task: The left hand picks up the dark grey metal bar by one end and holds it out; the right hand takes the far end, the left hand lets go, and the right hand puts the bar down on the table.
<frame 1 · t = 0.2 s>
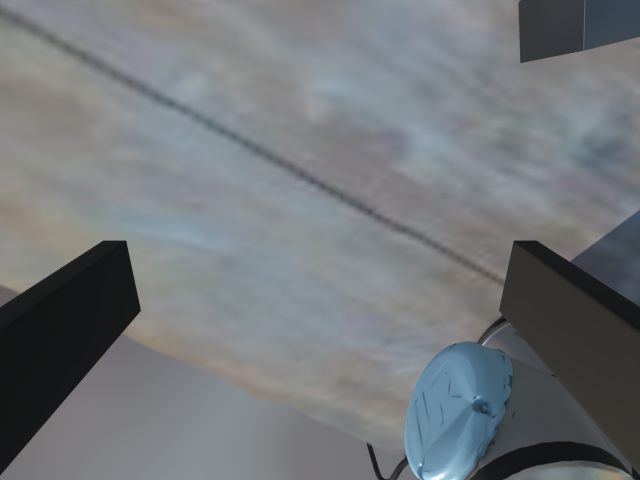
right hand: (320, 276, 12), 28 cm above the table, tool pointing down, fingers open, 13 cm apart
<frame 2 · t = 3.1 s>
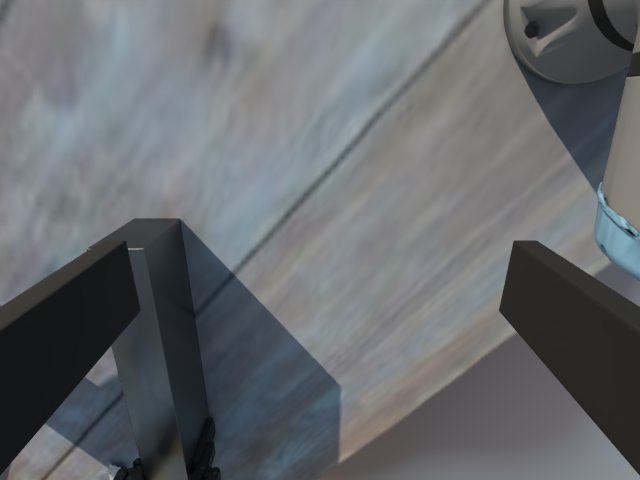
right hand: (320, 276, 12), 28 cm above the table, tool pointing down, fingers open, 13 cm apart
bar: (179, 346, 47), on the table, touching left hand
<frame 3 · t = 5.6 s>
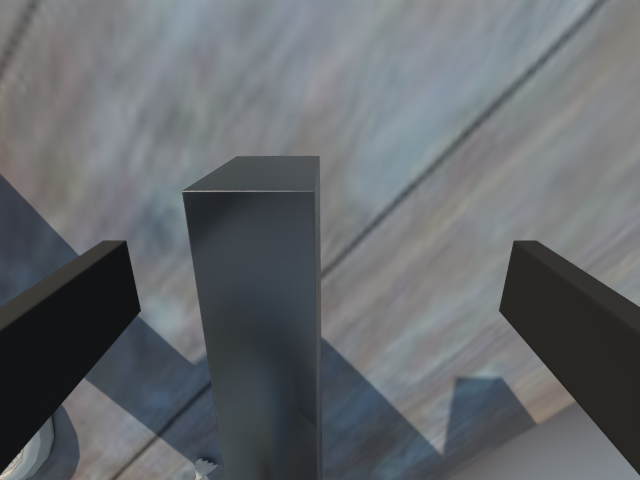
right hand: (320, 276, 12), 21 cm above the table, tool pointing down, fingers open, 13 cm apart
bar: (289, 379, 29), point 10 cm above the table, touching left hand
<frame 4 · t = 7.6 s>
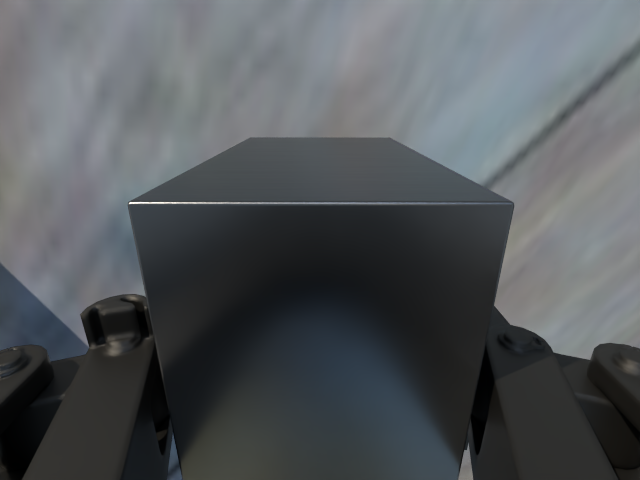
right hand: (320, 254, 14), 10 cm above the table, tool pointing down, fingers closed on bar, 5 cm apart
bar: (319, 473, 20), point 10 cm above the table, touching right hand, left hand
when the left hand's fingers open (10 cm above the table, at t = 8.2 s): bar stays where it is, held by the right hand.
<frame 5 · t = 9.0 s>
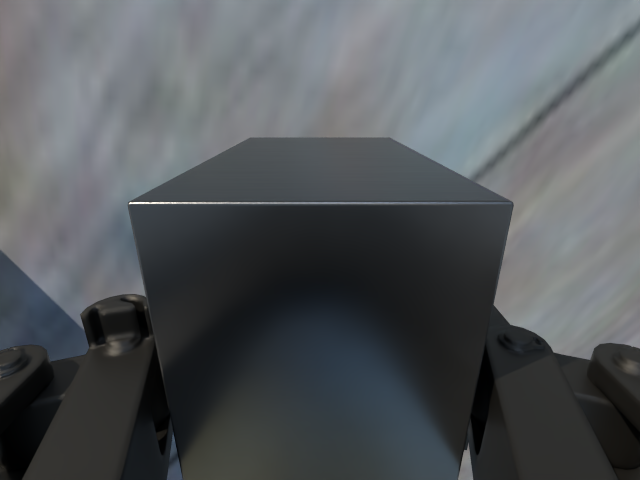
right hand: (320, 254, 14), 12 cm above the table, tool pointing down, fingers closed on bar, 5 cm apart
bar: (319, 473, 20), point 11 cm above the table, touching right hand
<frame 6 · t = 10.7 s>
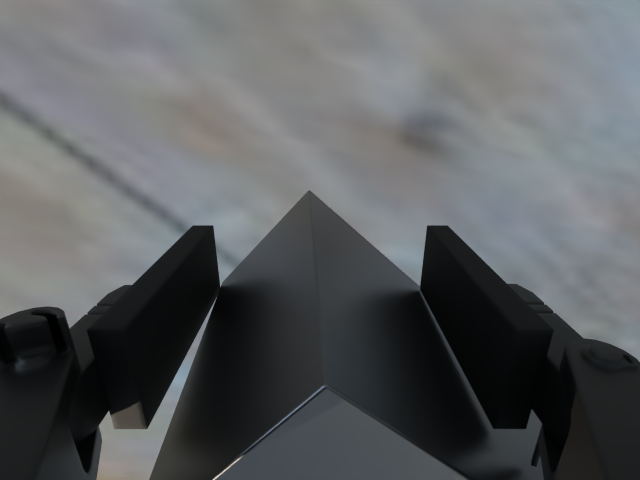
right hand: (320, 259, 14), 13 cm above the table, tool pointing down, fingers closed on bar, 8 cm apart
bar: (520, 436, 19), point 12 cm above the table, touching right hand
when the right hand's fingers open (13 cm above the table, at t = 10.7 s): bar drops 12 cm, on the table.
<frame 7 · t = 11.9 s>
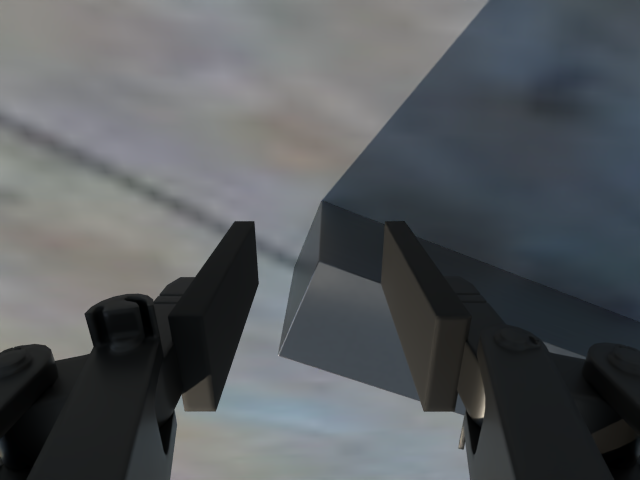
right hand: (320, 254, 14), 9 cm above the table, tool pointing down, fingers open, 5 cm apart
bar: (535, 319, 26), on the table, touching right hand
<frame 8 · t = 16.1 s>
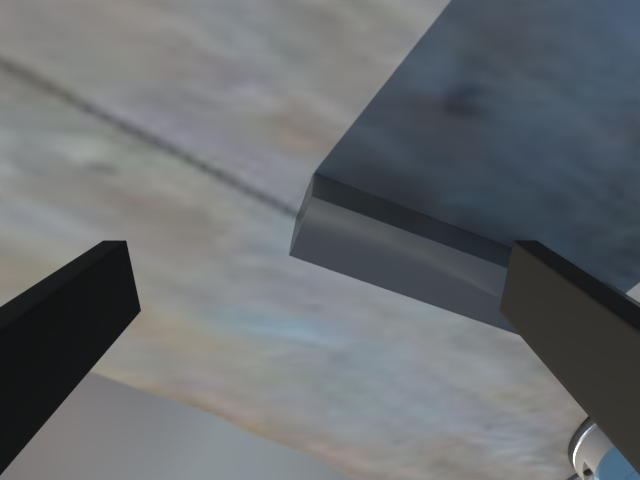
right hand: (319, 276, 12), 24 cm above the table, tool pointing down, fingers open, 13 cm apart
bar: (461, 255, 38), on the table
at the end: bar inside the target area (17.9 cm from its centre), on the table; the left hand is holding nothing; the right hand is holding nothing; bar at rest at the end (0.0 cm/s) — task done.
